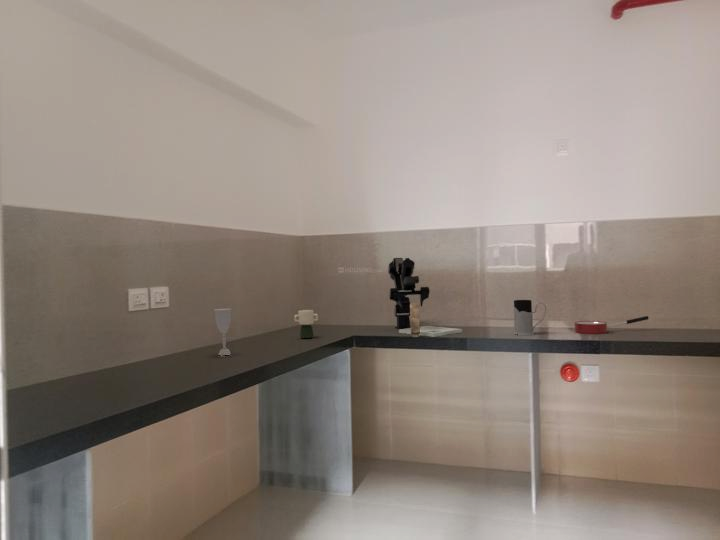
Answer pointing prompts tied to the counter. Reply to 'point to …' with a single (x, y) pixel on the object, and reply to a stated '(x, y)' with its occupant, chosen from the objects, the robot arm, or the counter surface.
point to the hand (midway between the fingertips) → (411, 306)
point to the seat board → (433, 331)
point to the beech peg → (415, 319)
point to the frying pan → (600, 326)
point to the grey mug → (524, 317)
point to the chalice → (223, 326)
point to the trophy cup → (306, 322)
